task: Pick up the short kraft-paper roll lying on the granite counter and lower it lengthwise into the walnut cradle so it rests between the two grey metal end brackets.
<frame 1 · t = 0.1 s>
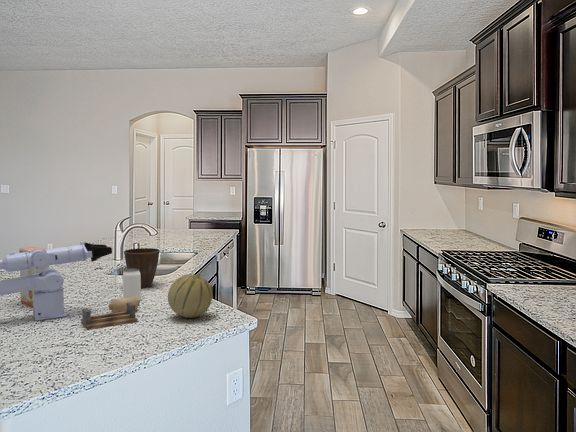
hand: (109, 248, 174), 22 cm above the counter, tool horizontal, fingers open, 7 cm apart
plant pot: (142, 287, 212), on the counter
cantaloupe: (190, 317, 164), on the counter
can: (132, 301, 187), on the counter
cradle: (109, 321, 158), on the counter
cracker box: (35, 304, 181), on the counter
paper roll: (124, 312, 170), on the counter
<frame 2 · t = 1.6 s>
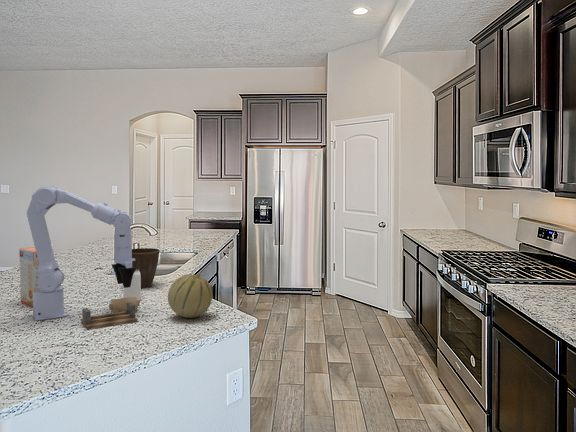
hand: (123, 285, 170), 9 cm above the counter, tool pointing down, fingers open, 7 cm apart
nothing on the counter moved.
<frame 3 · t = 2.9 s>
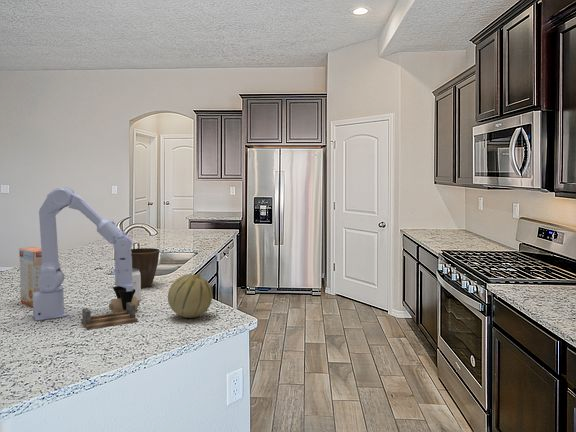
hand: (124, 307, 170), 1 cm above the counter, tool pointing down, fingers closed on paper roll, 5 cm apart
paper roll: (124, 311, 170), on the counter, touching gripper
everything else where it was.
when the fingers open (4 cm above the counter, at t = 5.9 s): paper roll drops 1 cm, resting on cradle.
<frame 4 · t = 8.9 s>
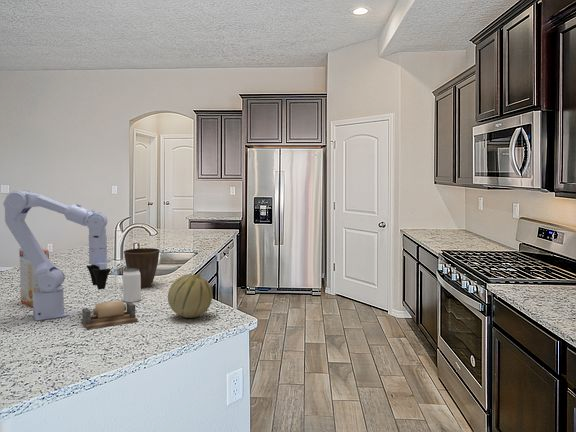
hand: (98, 287, 167), 9 cm above the counter, tool pointing down, fingers open, 7 cm apart
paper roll: (109, 317, 158), point 2 cm above the counter, touching cradle
everything else where it was.
at the end: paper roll 0.2 cm off-centre on the cradle, point 1.5 cm above the cradle's base; the gripper is holding nothing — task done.
